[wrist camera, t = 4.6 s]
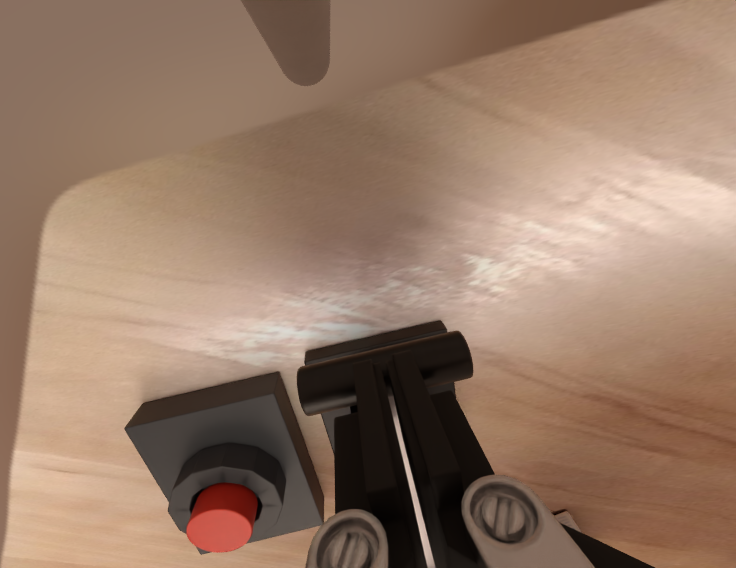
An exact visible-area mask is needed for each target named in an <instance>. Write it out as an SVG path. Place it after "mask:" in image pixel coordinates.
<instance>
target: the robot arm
mask: <svg viewBox="0 0 736 568" xmlns="http://www.w3.org/2000/svg"><path fill="white" fill-rule="evenodd" d="M392 358H393V359H392V360H388V361H386V364H387V369H388V374H389V378H390V383H391V387H392V392H393V396H394V401H395V406H396V410H397V415H398V419H399V424H400V429H401V433H402V438H403V442H404V446H405V450H406V454H407V458H408V462H409V465H410V469H411V473H412V477H413V481H414V485H415V489H416V493H417V497H418V501H419V505H420V509H421V512H422V516H423V520H424V524H425V528H426V532H427V536H428V540H429V544H430V548H431V552H432V556H433V559H434V563H435V567H436V568H655V567H653V566H650V565H648V564H646V563H644V562H642V561H640V560H638V559H636V558H634V557H631V556H629V555H627V554H625V553H623V552H621V551H619V550H617V549H615V548H613V547H610V546H608V545H606V544H604V543H602V542H600V541H598V540H596V539H594V538H592V537H589V536H587V535H585V534H583V533H581V532H579V531H577V530H575V529H573V528H570V527H568V526H566V525H564V524H562V523H560V522H558V520H557V519H556V518H555V517H554V515H553V514H552V513H551V512H550V510H549V509H548V508H547V507H546V505H545V504H544V503H543V501H542V500H541V499H540V498H539V496H538V495H537V494H536V493H535V492H534V491H533V490H532V489H531V488H530V487H528V486H527V485H525V484H524V483H522V482H520V481H519V480H517V479H514V478H511V477H508V476H505V475H495V474H494V472H493V470H492V468H491V466H490V464H489V462H488V460H487V458H486V456H485V454H484V452H483V450H482V448H481V446H480V444H479V442H478V441H477V439H476V437H475V435H474V433H473V431H472V429H471V427H470V425H469V423H468V421H467V419H466V417H465V415H464V413H463V411H462V409H461V407H460V406H459V404H458V402H457V400H456V398H455V396H454V394H453V393H452V391H451V390H449V391H444V392H440V393H436V394H432V395H429V392H428V390H427V388H426V385H425V383H424V380H423V378H422V376H421V373H420V371H419V368H418V366H417V363H416V361H415V359H414V356H413V354H412V351H411V350H408V351H404V352H399V353H395V354H392ZM353 372H354V381H355V391H356V400H357V409H358V412H356V413H352V414H347V415H343V416H339V417H335V419H334V458H335V515H333V516H332V517H330V518H329V519H328V520H327V521H326V522H325V523H323V524H322V525H321V526H320V528H319V529H318V531H317V532H316V534H315V536H314V537H313V539H312V542H311V545H310V548H309V552H308V557H307V562H306V567H305V568H428V567H427V563H426V558H425V554H424V549H423V545H422V540H421V536H420V531H419V527H418V522H417V518H416V513H415V509H414V504H413V500H412V495H411V491H410V487H409V482H408V478H407V474H406V469H405V465H404V461H403V457H402V453H401V449H400V444H399V440H398V436H397V432H396V428H395V423H394V419H393V415H392V411H391V407H390V403H389V398H388V394H387V390H386V386H385V382H384V378H383V373H382V369H381V365H380V362H379V363H375V364H372V360H371V359H369V360H365V361H361V362H356V363H353Z"/></svg>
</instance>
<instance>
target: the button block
mask: <svg viewBox="0 0 736 568" xmlns="http://www.w3.org/2000/svg"><path fill="white" fill-rule="evenodd" d="M125 431H126V432H127V434H128V436H129V437H130V439H131V441H132V442H133V444H134V446H135V447H136V449H137V451H138V452H139V454H140V455H141V457H142V459H143V460H144V462H145V464H146V465H147V467H148V469H149V470H150V472H151V474H152V475H153V477H154V478H155V480H156V482H157V483H158V485H159V487H160V488H161V490H162V492H163V493H164V495H165V497H166V498H167V500H168V501H169V507H168V512H169V514H170V516H171V517H172V519H173V520H174V522H175V524H176V525H177V527H178V529H179V530H180V531H182V532H184V533H186V534H187V532H186V528H187V524H188V522H189V519H190V516H191V514H192V511H193V509H194V506H195V503H196V501H197V498H198V496H199V494H200V493H201V492H202V491H203V490H204V489H206V488H207V487H209V486H211V485H213V484H217V483H221V482H227V483H234V484H241V485H244V486H246V487H247V488H249V489H250V490H252V491H253V492H254V494H255V495H256V497H257V501H258V507H257V512H256V517H255V522H254V527H253V532H252V535H251V537H250V539H249V540H248V542H247V543H251V542H255V541H259V540H263V539H267V538H271V537H275V536H279V535H284V534H288V533H292V532H296V531H300V530H304V529H308V528H312V527H316V526H320V525H322V524H323V523H324V496H323V493H322V490H321V487H320V485H319V482H318V479H317V476H316V473H315V471H314V468H313V465H312V462H311V460H310V457H309V454H308V451H307V448H306V446H305V443H304V440H303V437H302V435H301V432H300V429H299V426H298V424H297V421H296V418H295V415H294V412H293V410H292V407H291V404H290V401H289V399H288V396H287V393H286V390H285V388H284V385H283V382H282V379H281V376H280V374H279V372H276V373H272V374H268V375H264V376H259V377H255V378H251V379H246V380H242V381H238V382H234V383H229V384H225V385H221V386H216V387H212V388H208V389H204V390H199V391H195V392H191V393H186V394H182V395H178V396H174V397H169V398H165V399H161V400H156V401H152V402H148V403H144V404H142V405H141V406H140V408H139V409H138V410H137V412H136V413H135V415H134V416H133V417H132V419H131V420H130V421H129V423H128V424H127V425H126V427H125ZM247 543H246V544H247ZM197 549H198V551H199V552H200V554H206V553H210V552H209V551H205V550H202V549H200V548H198V547H197Z"/></svg>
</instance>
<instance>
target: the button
mask: <svg viewBox="0 0 736 568" xmlns="http://www.w3.org/2000/svg"><path fill="white" fill-rule="evenodd" d="M257 507H258V501H257V497H256V495H255V494H254V492H253V491H252V490H250V489H249V488H247V487H246V486H244V485H241V484H234V483H227V482H221V483H217V484H213V485H211V486H209V487H207V488H206V489H204V490H203V491H202V492H201V493H200V494H199V496H198V498H197V501H196V503H195V506H194V509H193V511H192V514H191V516H190V519H189V522H188V524H187V528H186V532H187V537H188V539H189V540H190V541H191V543H192V544H194V545H195V546H196V547H198V548H200V549H202V550H205V551H209V552H228V551H232V550H235V549H238V548H240V547H242V546H243V545H244V544H246V543H247V542H248V540H249V539H250V537H251V535H252V532H253V527H254V522H255V517H256V512H257Z"/></svg>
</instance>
